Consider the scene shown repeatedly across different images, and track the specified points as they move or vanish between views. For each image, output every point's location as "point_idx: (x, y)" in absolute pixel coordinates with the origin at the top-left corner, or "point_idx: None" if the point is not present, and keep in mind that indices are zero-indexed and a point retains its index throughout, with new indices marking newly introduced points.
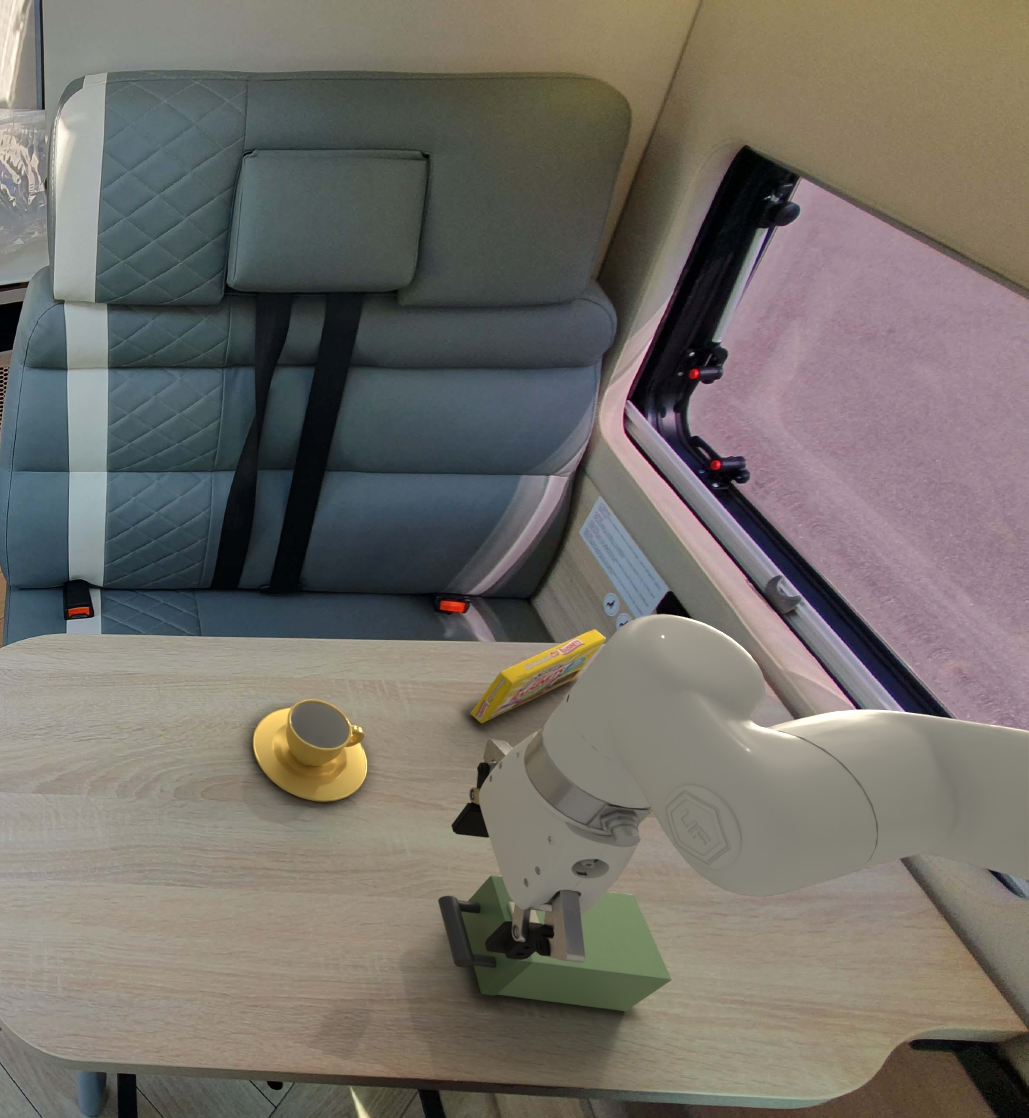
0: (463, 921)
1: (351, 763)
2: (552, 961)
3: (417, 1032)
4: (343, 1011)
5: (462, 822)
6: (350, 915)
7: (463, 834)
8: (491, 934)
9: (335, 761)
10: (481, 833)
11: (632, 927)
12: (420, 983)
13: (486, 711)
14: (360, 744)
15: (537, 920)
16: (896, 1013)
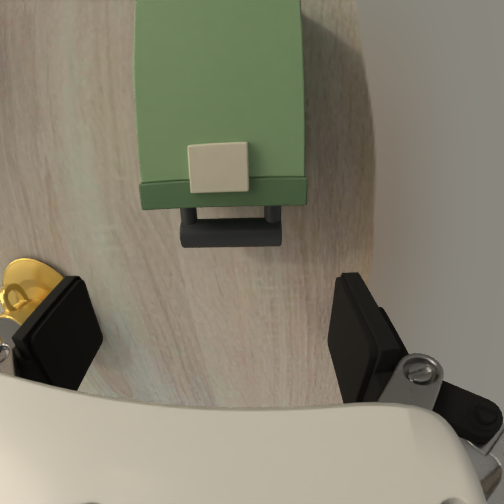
0: (217, 225)
1: (36, 275)
2: (298, 137)
3: (338, 259)
4: (319, 323)
5: (86, 369)
6: (214, 305)
7: (98, 326)
8: (333, 364)
9: (41, 288)
10: (83, 305)
11: None
12: (284, 244)
13: None
14: (14, 261)
15: (221, 146)
16: None
